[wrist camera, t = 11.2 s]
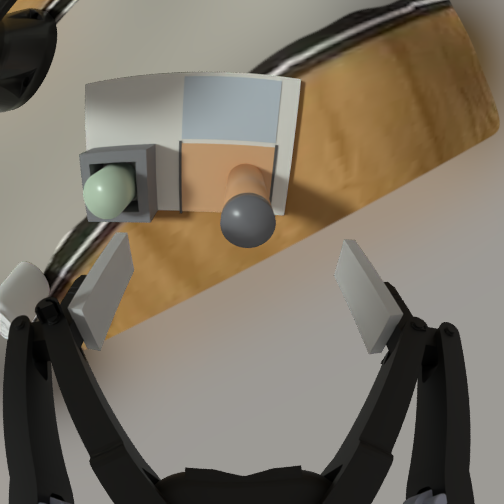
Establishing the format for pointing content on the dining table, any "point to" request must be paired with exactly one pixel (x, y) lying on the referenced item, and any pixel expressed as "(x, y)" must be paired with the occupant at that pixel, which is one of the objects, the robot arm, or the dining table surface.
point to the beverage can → (21, 294)
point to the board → (190, 136)
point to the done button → (110, 190)
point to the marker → (247, 208)
